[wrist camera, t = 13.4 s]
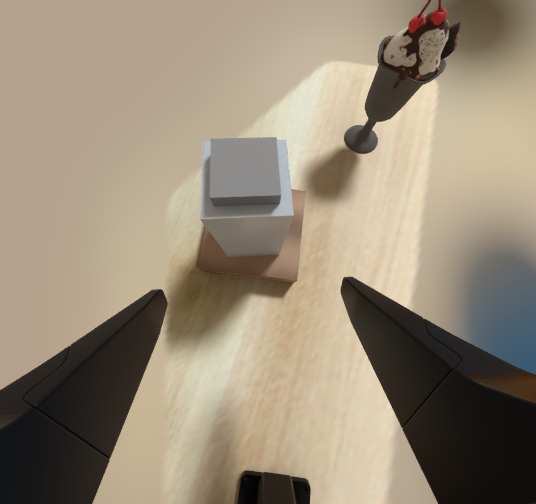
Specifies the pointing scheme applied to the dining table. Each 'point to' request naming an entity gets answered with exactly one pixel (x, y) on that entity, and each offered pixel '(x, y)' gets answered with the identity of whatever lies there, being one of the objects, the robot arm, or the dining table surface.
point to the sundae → (404, 71)
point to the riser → (259, 266)
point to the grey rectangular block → (246, 194)
